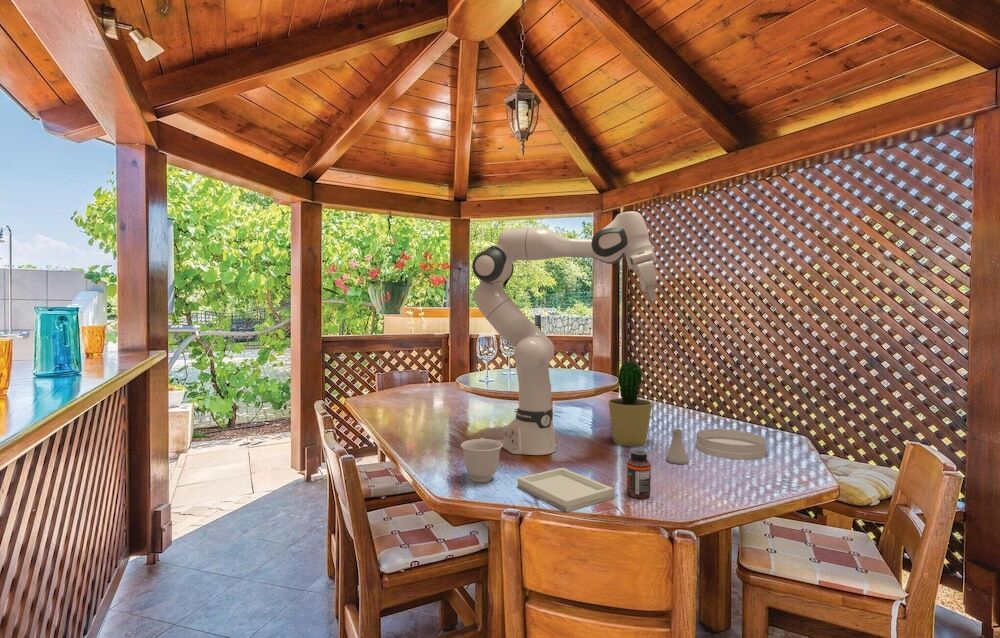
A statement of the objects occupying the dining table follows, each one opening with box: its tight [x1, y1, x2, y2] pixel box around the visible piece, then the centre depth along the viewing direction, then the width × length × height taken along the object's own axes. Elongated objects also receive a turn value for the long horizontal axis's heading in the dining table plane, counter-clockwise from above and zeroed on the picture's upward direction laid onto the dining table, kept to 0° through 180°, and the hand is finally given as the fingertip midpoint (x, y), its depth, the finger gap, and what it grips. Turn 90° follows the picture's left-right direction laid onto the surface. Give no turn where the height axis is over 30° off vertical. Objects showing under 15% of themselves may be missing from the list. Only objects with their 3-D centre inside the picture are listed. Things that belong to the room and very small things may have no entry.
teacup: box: [460, 437, 503, 483], centre depth 145 cm, size 12×15×10 cm
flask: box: [664, 428, 690, 465], centre depth 161 cm, size 7×7×10 cm
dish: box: [695, 428, 768, 461], centre depth 174 cm, size 22×22×5 cm
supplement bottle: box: [626, 449, 652, 499], centre depth 132 cm, size 6×6×11 cm
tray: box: [517, 467, 615, 513], centre depth 133 cm, size 20×16×2 cm
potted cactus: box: [608, 360, 653, 447], centre depth 183 cm, size 15×15×30 cm
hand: (653, 301), depth 160 cm, fingers open, 8 cm apart
